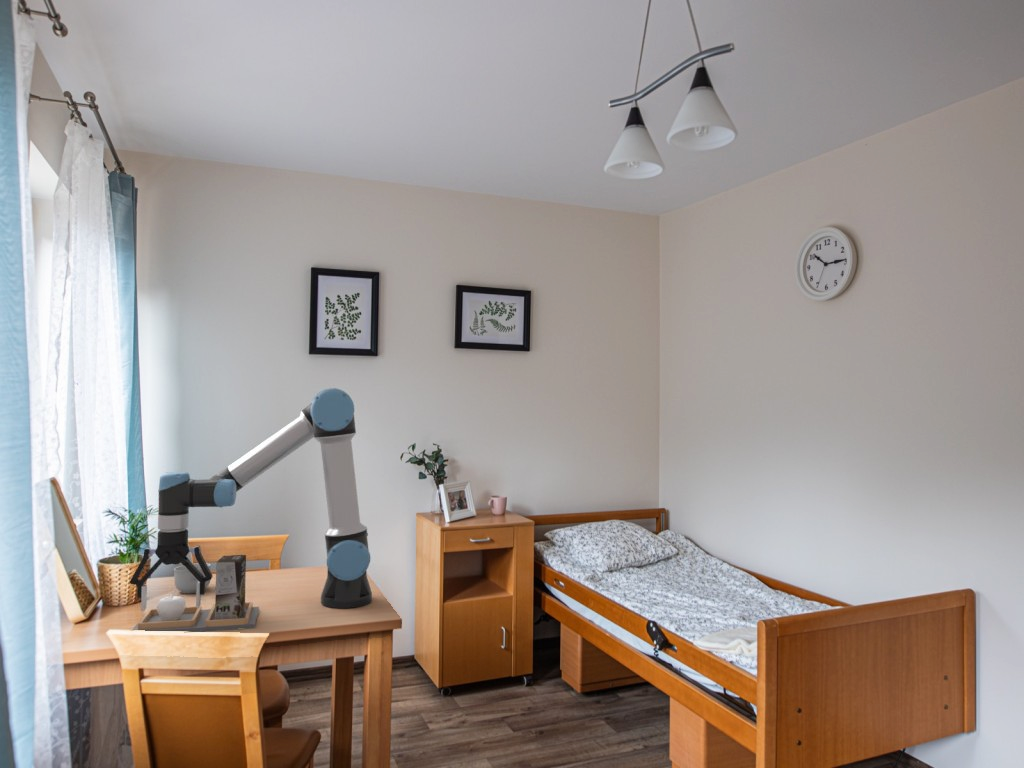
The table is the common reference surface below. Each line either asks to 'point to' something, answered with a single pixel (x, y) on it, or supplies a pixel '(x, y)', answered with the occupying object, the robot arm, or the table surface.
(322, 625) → the table surface
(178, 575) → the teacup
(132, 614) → the table surface
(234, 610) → the coffee box
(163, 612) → the plain white apple
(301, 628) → the table surface
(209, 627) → the plate
